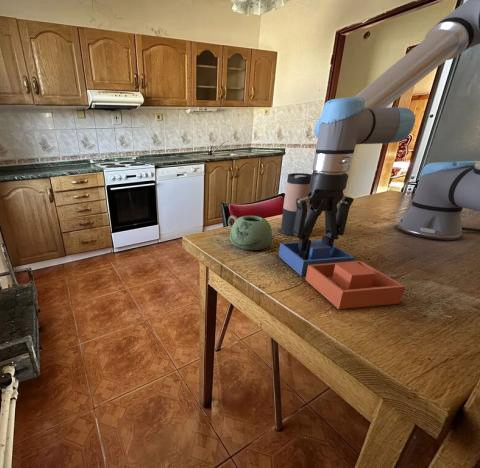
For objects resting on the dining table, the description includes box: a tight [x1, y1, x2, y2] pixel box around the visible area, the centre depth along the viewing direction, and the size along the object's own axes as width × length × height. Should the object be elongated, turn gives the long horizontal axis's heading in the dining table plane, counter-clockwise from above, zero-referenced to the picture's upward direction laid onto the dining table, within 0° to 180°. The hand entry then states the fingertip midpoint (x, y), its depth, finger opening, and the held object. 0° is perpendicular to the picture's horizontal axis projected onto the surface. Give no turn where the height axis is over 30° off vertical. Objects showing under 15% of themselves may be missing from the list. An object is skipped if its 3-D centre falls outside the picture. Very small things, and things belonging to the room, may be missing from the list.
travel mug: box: [280, 172, 312, 237], centre depth 87 cm, size 8×8×20 cm
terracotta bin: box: [305, 260, 406, 310], centre depth 56 cm, size 13×11×4 cm
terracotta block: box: [332, 263, 375, 290], centre depth 56 cm, size 5×5×5 cm
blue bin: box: [278, 239, 355, 277], centre depth 68 cm, size 13×11×4 cm
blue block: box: [308, 239, 331, 260], centre depth 68 cm, size 5×5×5 cm
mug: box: [227, 215, 273, 251], centre depth 82 cm, size 16×13×9 cm
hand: (312, 260), depth 69 cm, fingers closed on blue block, 5 cm apart
